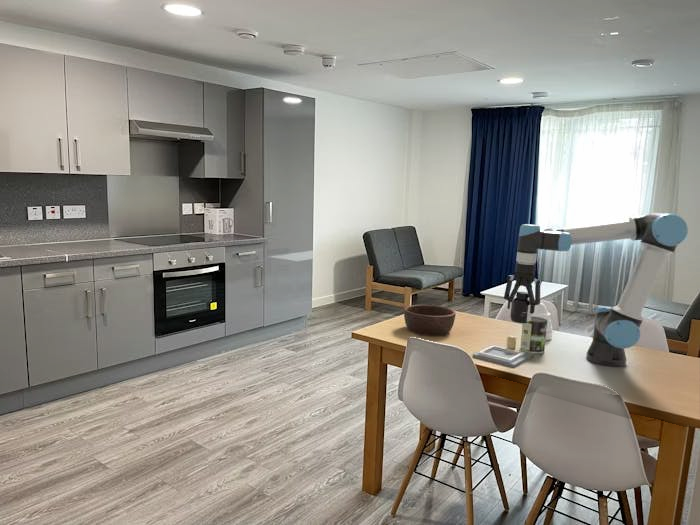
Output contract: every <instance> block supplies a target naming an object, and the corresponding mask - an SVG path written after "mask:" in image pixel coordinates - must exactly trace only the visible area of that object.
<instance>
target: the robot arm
mask: <svg viewBox="0 0 700 525" xmlns="http://www.w3.org/2000/svg"><path fill="white" fill-rule="evenodd" d="M519 227H520V228H519V233H518V240H517V241H518V242H517V252H516V260H515V261H516V263H515V269H514V274H510V275H507V276H506V281H507V282H506V285H505V286H506V287H505V290H504V295H503V299H504V300H506V301H507V310H509V312H508V318H510V319H511V313H512V305H513V300H514V299H515V298H516V294H517V292H519V288H520V287H521V286H522V287H525V289H526V291H527V293H528V296H529V298H528V300H529V301H530V305H528V313H527V322H529V321H531V315H532V314H533V313H534V310H535V305H539V304H540V303H541V286H542V282H543V281H542V279H537V278H536V276H535V273H536V263H537V258H538V257H537V255H538V250H544V251H554V252H556V251H557V252H568V251H570V250H571V247H572V246H574V245H582V244H583V245H584V244H592V243H602V242H611V241H618V240H619V241H620V240H629V239H630V240H631V241H640V244H641V246H642V249H641V251H640V253H639V255H638V258H637V260H636V263H635V265H634V267H633V270H632V271H631V273H630V276H629V278H628V280H627V283H626V285H625V287H624V289H623V293H622V295H620V296H621V297H620V299H619V301H618V304H617V305H614V306H603V305H602V306H600V305H599V306H597V307H596V308H595V309H596V310H595V312H594V315H595V316H594V323H593V324H594V325H593V332H592V340H591V344H590V345H589V347H588V350H587V351H586V356H585V357H586V360H588V361H590V362H592V363H594V364H598V365H603V366H607V367H625V366H626V365H627V354H626V352H625V351H626V350H625V349H629V348H632V347H634V346H635V345H636V344H638V342H639V341H640V338H641V331H640V330H641V329H640V328H641V325H642V323H643V321H644V318H643V317H642V313H643V310H644V309H645V306H646V303H647V301H648V299H649V297H650V295H651V292H652V290H653V288H654V286H655V284H656V282H657V279H658V276H659V275H660V273H661V270H662V268H663V266H664V264H665V263H666V262H665V261H666V260H667V257H668V256H670V255H672V254H674V253H675V251H676V248H677V247H678V245H680V244H681V243H683V242H684V240H685V239H686V238H687V235H688V231H689V228H688V225H687V222H686V221H685V219H684V218H683V217H681V216H680V215H677V214H675V213H670V212H660V211H657V212H651V213H646V214H643V215H637V216H630V217H629V218H628V219H625V220H618V221H617V220H615V221H608V222H599V223H591V224H585V225H583V224H582V225H575V226H573V225H572V226H566V227H558V228H546V229H541V227H540V225H539V224H538V225H537V224H529V223H525V224H521V225H520V226H519ZM513 281H515V284H514V287H513V289H512V285H513ZM533 283H534V285H535V286H534V290H533V285H532V284H533ZM533 291H534V292H533Z"/></svg>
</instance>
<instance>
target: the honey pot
mask: <svg viewBox="0 0 700 525" xmlns="http://www.w3.org/2000/svg"><path fill="white" fill-rule="evenodd" d="M531 317H540V318H544V319H546V320H547V321H548V322H547V329H546V339H545V341H550V340H552V339H553V325H552V320H551V313H550V312H549V311H548V309H547V307H546V305H545V304H544V303H543V302H540V304H539V305H535V310H534V313H533V314H532V315H531ZM551 338H552V339H551ZM549 339H550V340H549Z"/></svg>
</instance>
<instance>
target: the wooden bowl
mask: <svg viewBox="0 0 700 525" xmlns="http://www.w3.org/2000/svg"><path fill="white" fill-rule="evenodd" d="M456 315H457V314H456V311H455V310H454V309H452V308H448V307H446V306H440V305H435V304H433V305H432V304H414V305H413V304H412V305H408V306H406V307H404V308H403V317H404V322H405V326H406V328H407V330H409V331H410V332H411V333H414V334H417V335H422V336H431V337H432V336H433V337H435V336H445V335H448V334H449V333H450V332H451V331H452V329H453V327H454V324H455V319H456Z"/></svg>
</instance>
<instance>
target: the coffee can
mask: <svg viewBox="0 0 700 525" xmlns="http://www.w3.org/2000/svg"><path fill="white" fill-rule="evenodd" d="M547 322H548V321H547V320H546V319H544V318H540V317H531V321H529V322H528V323H522V328H521V337H520V338H521V339H520V348H519V349H520V351H523V352H524V351H525V352H527V353H532V354H534V355H535V354H537V355H538V354H541V355H542V354H544V353H545V348H546V340H545V339H546V329H547Z"/></svg>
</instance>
